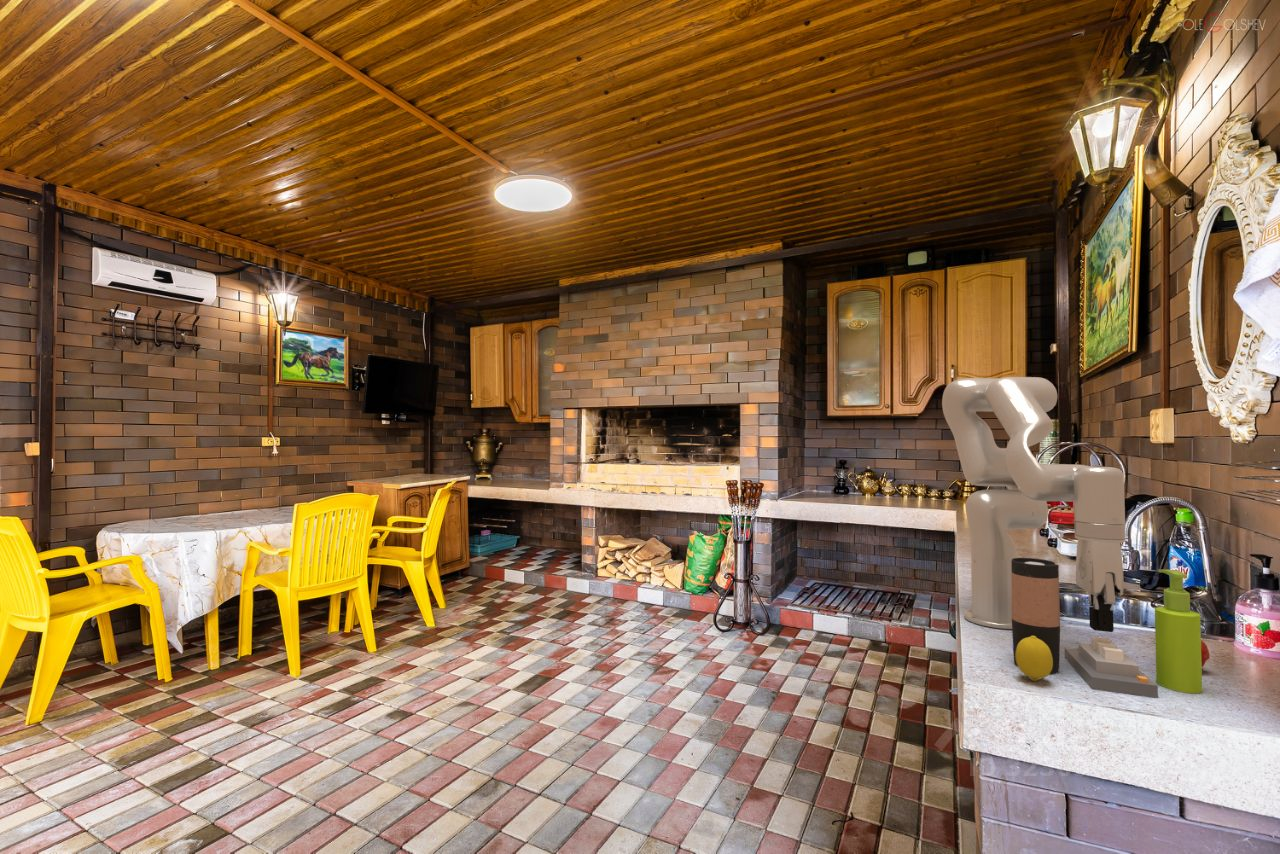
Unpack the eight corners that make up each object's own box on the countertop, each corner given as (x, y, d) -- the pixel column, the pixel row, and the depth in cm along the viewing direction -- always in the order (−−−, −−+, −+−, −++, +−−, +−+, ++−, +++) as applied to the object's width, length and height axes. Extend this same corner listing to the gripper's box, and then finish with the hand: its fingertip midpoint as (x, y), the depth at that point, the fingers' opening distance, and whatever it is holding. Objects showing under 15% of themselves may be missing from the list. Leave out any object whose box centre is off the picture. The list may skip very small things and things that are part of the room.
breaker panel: (1064, 657, 114) (1064, 628, 115) (1120, 664, 111) (1120, 634, 111) (1092, 688, 100) (1091, 655, 100) (1158, 697, 96) (1157, 662, 96)
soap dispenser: (1186, 679, 104) (1183, 568, 105) (1210, 695, 97) (1207, 576, 98) (1146, 675, 106) (1143, 566, 106) (1167, 690, 99) (1165, 574, 100)
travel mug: (1003, 662, 112) (1001, 559, 112) (1028, 657, 115) (1027, 556, 115) (1044, 677, 104) (1042, 566, 105) (1070, 671, 108) (1068, 563, 108)
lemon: (1059, 688, 100) (1058, 642, 100) (1024, 685, 101) (1023, 639, 101) (1043, 676, 105) (1043, 632, 105) (1010, 673, 106) (1009, 629, 106)
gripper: (1063, 525, 117) (1065, 617, 116) (1088, 536, 103) (1090, 639, 103) (1109, 528, 114) (1111, 621, 113) (1141, 539, 100) (1143, 645, 100)
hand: (1101, 629), depth 108 cm, fingers closed
